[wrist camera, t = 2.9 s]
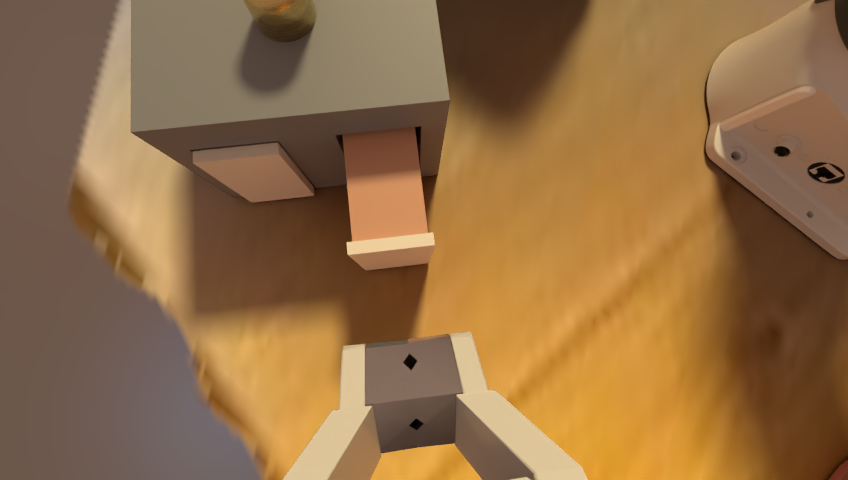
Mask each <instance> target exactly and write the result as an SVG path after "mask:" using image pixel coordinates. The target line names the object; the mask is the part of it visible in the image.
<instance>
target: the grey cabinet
mask: <svg viewBox="0 0 848 480" xmlns="http://www.w3.org/2000/svg"><path fill="white" fill-rule="evenodd" d="M313 1H314V4H315V7H316V12H317V16H316V21H315V24H314V26H313V28H312V29H311V31H310V32H309V33H308V34H307V35H305V36H304V37H302V38H301V39H298V40H296V41H292V42H278V41H274V40H271V39H269V38H268V37H266V36H265V35H264V34H263V33H262V32H261V31H260V30H259V28H258V26H257V24H256V23H255V21H254V19H253V17H252V15H251V13H250V12H249V10H248V8H247V6H246V4H245V3H244V1H243V0H131V133H133V134H134V135H136V136H137V137H139V138H141V139H142V140H144V141H145V142H147V143H149V144H150V145H152V146H153V147H155V148H156V149H158V150H160V151H161V152H163V153H164V154H166V155H167V156H169V157H171V158H172V159H174V160H175V161H177V162H179V163H180V164H182V165H183V166H185V167H186V168H188V169H190V170H191V171H193V172H194V173H196V174H197V175H199V176H201V177H202V178H204V179H205V180H207V181H208V182H210V183H212V184H213V185H215V186H216V187H218V188H220V189H221V190H223V191H224V192H226V193H227V194H229V195H231V196H232V197H239V196H241V195H240V194H238V193H237V192H235V191H234V190H232V189H231V188H229V187H228V186H226V185H225V184H223V183H222V182H220V181H219V180H217V179H216V178H214V177H213V176H211V175H210V174H208V173H207V172H205V171H204V170H202V169H201V168H199V167H198V166H196V165H195V164H193V151H200V150H201V149H206V148H216V147H226V146H235V145H245V144H255V143H265V142H274V141H279V142H280V144H281V145H282V146H283V147H284V149H285V150H286V151H287V152H288V154H289V155H290V156H291V157H292V159H293V160H294V161H295V162H296V164H297V165H298V166H299V167H300V169H301V170H302V171H303V172H304V174H305V175H306V176H307V178H308V179H309V180H310V181H311V183H312V184H313V185H314V186H315V188H322V187H331V186H341V185H347V179H346V168H345V157H344V146H343V136H342V134H352V133H361V132H371V131H381V130H390V129H400V128H410V127H415V132H416V140H417V148H418V156H419V164H420V172H421V177H423V176H433V175H438V170H439V163H440V157H441V151H442V145H443V139H444V133H445V127H446V121H447V115H448V109H449V102H450V97H449V90H448V83H447V76H446V69H445V62H444V55H443V48H442V41H441V34H440V27H439V20H438V13H437V6H436V0H313Z"/></svg>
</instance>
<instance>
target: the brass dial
mask: <svg viewBox="0 0 848 480" xmlns="http://www.w3.org/2000/svg"><path fill="white" fill-rule="evenodd" d="M243 1H244V3H245V4H246V6H247V8H248V10H249V12H250V13H251V15H252V17H253V19H254V21H255V23H256V24H257V26H258V28H259V30H260V31H261V32H262V33H263V34H264V35H265V36H266V37H268V38H269V39H271V40H274V41H278V42H292V41H296V40H298V39H301V38H302V37H304V36H305V35H307V34H308V33H309V32H310V31H311V29H312V28H313V26H314V24H315V21H316V16H317V12H316V7H315V4H314V1H313V0H243Z"/></svg>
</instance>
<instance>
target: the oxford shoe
mask: <svg viewBox="0 0 848 480" xmlns="http://www.w3.org/2000/svg"><path fill="white" fill-rule="evenodd" d="M829 480H848V459H847V460H846V461H845V462H844V463H842V464H841V465H840V466H839V467H838V468H837V469H836V470H835V471H834V473H833V474H832V475H831V477H830V479H829Z"/></svg>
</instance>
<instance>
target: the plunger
mask: <svg viewBox="0 0 848 480" xmlns="http://www.w3.org/2000/svg"><path fill="white" fill-rule="evenodd" d="M342 136H343V146H344V157H345V168H346V179H347V190H348V201H349V212H350V223H351V234H352V242H347V254H348V256H349V257H350V258H352V259H353V260H354V261H355V262H356V263H358V264H359V265H360V266H361V267H362V268H363V269H365V270H366V271H367V270H375V269H384V268H392V267H401V266H409V265H418V264H426V263H430V260H431V256H432V253H433V249H434V246H435V243H434V235H433V232H432V233H428V228H427V220H426V212H425V204H424V196H423V188H422V180H421V172H420V164H419V156H418V148H417V140H416V132H415V127H410V128H400V129H390V130H381V131H371V132H361V133H352V134H342Z"/></svg>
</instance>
